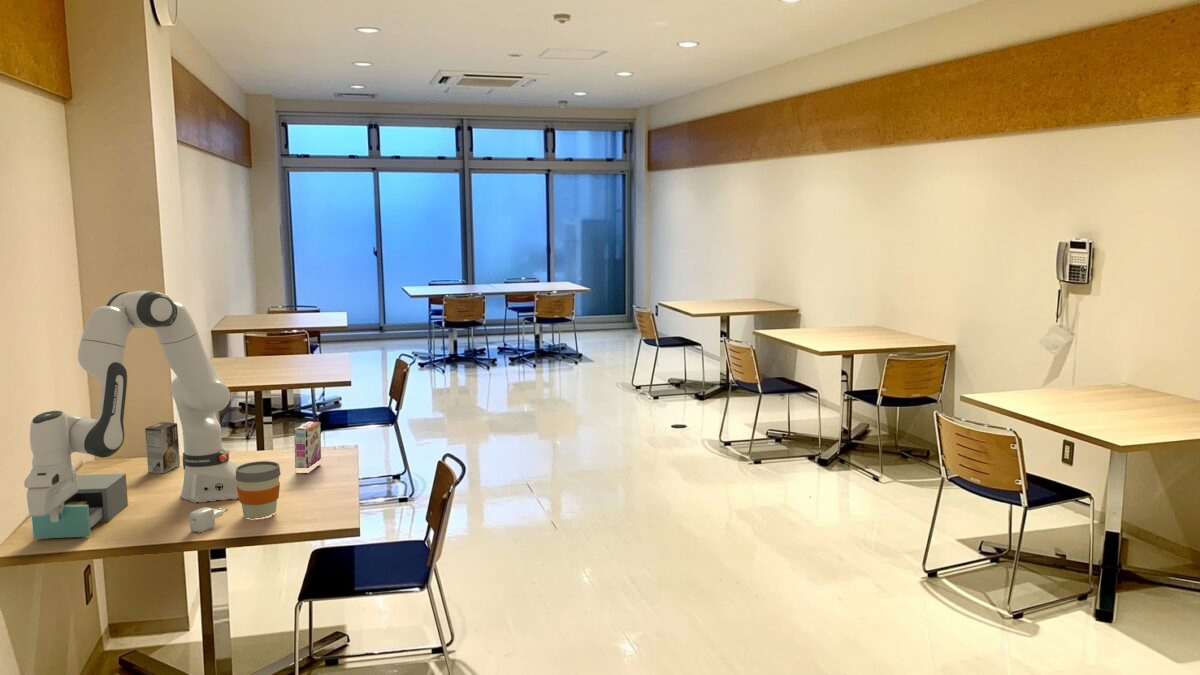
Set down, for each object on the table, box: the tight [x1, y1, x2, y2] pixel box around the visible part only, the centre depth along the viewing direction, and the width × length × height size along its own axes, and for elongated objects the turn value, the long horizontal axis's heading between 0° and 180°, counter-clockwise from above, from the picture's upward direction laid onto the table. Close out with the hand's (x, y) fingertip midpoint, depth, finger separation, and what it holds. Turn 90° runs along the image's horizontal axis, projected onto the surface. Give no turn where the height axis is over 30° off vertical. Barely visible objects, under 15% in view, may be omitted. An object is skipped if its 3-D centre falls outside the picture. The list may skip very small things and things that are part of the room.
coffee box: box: [144, 421, 181, 474], centre depth 289 cm, size 9×6×16 cm
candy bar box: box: [294, 421, 322, 469], centre depth 291 cm, size 11×5×16 cm, turn 174°
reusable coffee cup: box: [235, 460, 281, 519], centre depth 247 cm, size 13×12×15 cm
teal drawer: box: [31, 505, 104, 540], centre depth 233 cm, size 14×14×9 cm
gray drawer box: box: [64, 473, 129, 523], centre depth 245 cm, size 14×14×10 cm
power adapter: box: [189, 506, 229, 533], centre depth 238 cm, size 11×5×6 cm, turn 160°
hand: (56, 520), depth 224 cm, fingers closed
